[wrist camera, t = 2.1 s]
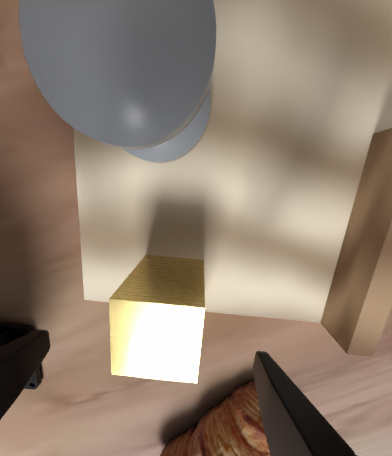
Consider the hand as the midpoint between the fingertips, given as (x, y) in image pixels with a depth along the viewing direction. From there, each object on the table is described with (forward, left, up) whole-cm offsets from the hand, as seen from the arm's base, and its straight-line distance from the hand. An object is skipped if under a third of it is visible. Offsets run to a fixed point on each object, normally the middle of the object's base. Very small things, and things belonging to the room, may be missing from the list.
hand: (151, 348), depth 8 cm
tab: (0, 0, -5) cm, 5 cm away
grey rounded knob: (+11, +1, -5) cm, 12 cm away
